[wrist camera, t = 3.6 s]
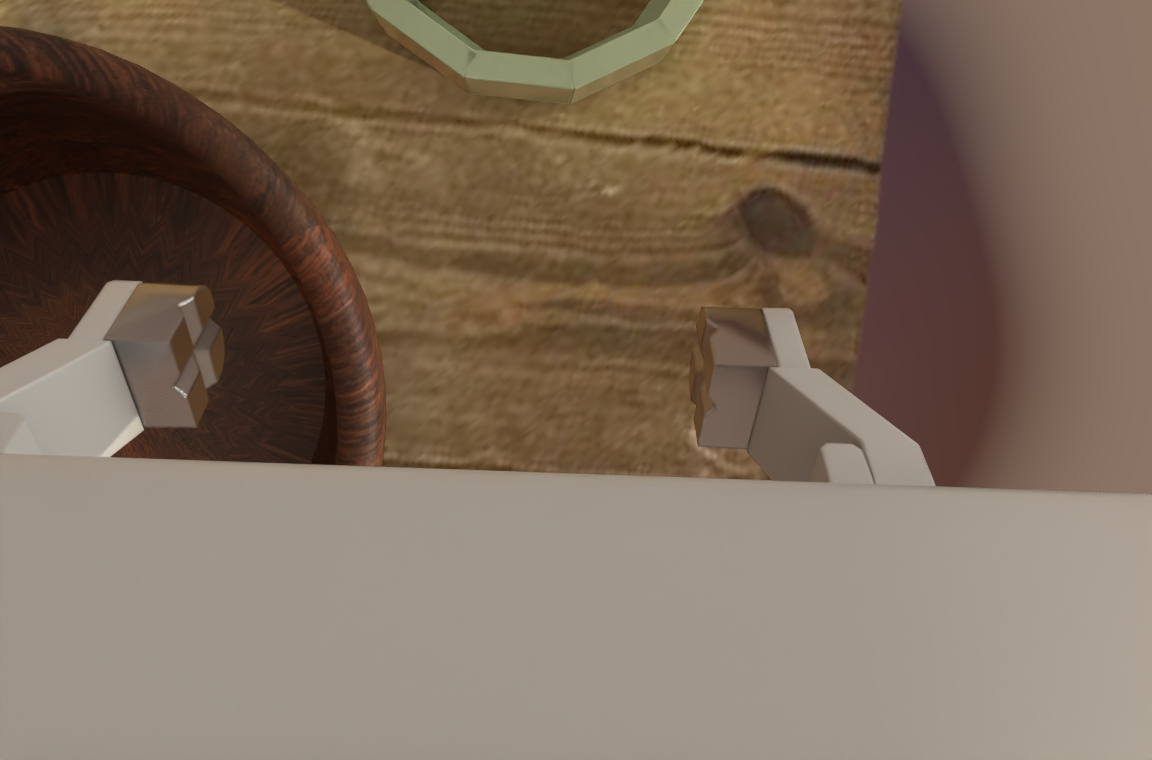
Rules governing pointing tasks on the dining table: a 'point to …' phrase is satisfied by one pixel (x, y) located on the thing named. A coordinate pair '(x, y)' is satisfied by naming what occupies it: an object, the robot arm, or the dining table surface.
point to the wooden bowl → (181, 253)
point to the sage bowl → (535, 74)
